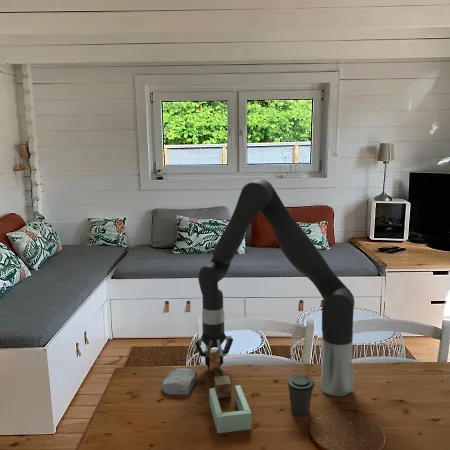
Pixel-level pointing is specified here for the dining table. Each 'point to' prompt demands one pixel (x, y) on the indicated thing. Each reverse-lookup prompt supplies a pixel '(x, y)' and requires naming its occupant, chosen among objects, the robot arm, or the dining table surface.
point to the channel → (230, 413)
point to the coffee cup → (300, 394)
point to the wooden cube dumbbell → (220, 382)
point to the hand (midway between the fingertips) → (214, 365)
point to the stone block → (179, 381)
